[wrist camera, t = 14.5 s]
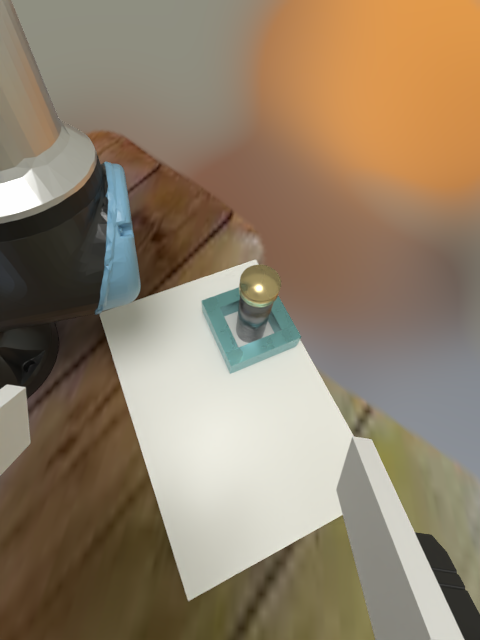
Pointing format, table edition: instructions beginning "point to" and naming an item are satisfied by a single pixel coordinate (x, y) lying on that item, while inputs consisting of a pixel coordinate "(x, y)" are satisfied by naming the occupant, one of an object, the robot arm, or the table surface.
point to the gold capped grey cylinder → (256, 301)
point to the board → (225, 433)
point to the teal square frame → (254, 351)
